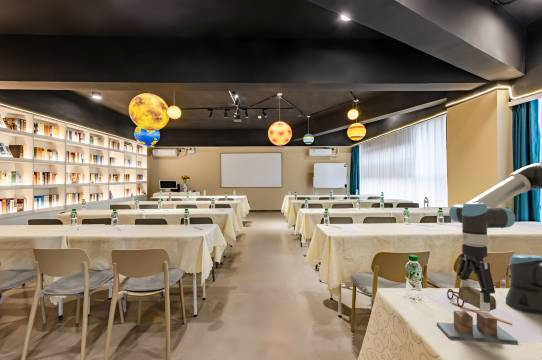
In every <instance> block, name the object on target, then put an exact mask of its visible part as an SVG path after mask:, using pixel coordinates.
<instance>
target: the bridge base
mask: <svg viewBox="0 0 542 360" xmlns="http://www.w3.org/2000/svg"><path fill="white" fill-rule="evenodd" d="M436 326H437V327H438V328H439V329H440V330H441V331H442V332H443V333H444V334H445V335H446V337H447V338H448V339H449V340H462V341H463V340H464V341H478V342H490V343H506V344H519V341H518V339H516V338H515V337H514V336H512V335H511V334H509V333H508V332H507V331H506V330H504V329H503V328H501V326H498V318H497V317H495V316H494V315H492V314H491V313H489V312H484V311H476V324H474V317H473V316H472V315H470V313H468V312H467V311H466V310H453V323H452V322H450V323H449V322H436Z"/></svg>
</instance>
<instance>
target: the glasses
mask: <svg viewBox="0 0 542 360" xmlns="http://www.w3.org/2000/svg"><path fill="white" fill-rule="evenodd" d="M449 293H451V297H450V295H449ZM458 293H459V291H458V292H457V291H454V290H453V289H451V288H449V289H447V293H446V297H447V299H449V300H453V299H454V297H456V304H457V306H458V305H459V306H460V308H463V306H464V305H465V304H468V303H467V302H465V301H463V300H462V304H461V305H460V302H459V300H460V298H459V297H458ZM459 306H458V307H459Z"/></svg>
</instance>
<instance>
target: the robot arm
mask: <svg viewBox="0 0 542 360" xmlns="http://www.w3.org/2000/svg"><path fill="white" fill-rule="evenodd" d="M532 190H542V162H535V163H532V164H529V165H526V166H523V167H521V168H519V169H516V170H515V171H514V172H511V173H509V174H508V175H507V176H506V178H505V179H504V180H503V181H500V182H499V183H498V184H496V185H494V186H493V187H491V188H490V189H487V190H486V191H484V192H483V193H482V192H481V194H479V195H477V196H476V197H474V198H472V199H470V200H469V201H467V202H464V203H463V204H460V203H459V204H453V205H452V206H451V207H450V209H449V210H448V211H449V212H448V214H449V215H448V216H449V217H450V219H451V220H452V222H453V221H454V222H457V223H460V224H461V227H462V231H461V232H462V235H461V239H462V245H461V251H462V252H461V254H460V262H459V266H458V269H457V273H456V274H457V276H458V277H459V279H460V287H470V276H471V274H472V272H473V273H474V274H475V276H476V278H477V280H478V284H479V286H480V289H481V290H480V309H479V310H480V311H479V312H488V313H489V312H491V310H490V295H491V294H496V289H495V286H494V281H493V275H492V273H491V264H490V263H489V262H485V261H484V258H487V257H488V247H487V245H488V229H499V228H500V229H504V228H506V229H507V228H509V227H512V226H514V224H515V222H516V215H515V213H514V212H513V210H511V209H510V208H508V207H507V208H506V207H499V206H501V205H503V204H504V203H505V202H508V201H509V200H511V199H512V198H514V197H516V196H517V195H519V194H524V193H525V194H526V193H527V192H529V191H532ZM509 269H510V270H509V271H510V273H509V274H510V275H509V276H510V277H509V278H510V281H509V282H510V283H509V284H510V287H509V288H508V289H509V290H508V291H507V293H506V296H505V304H506V305H507V306H509V307H511V308H513V309H515V310H518V311H522V312H526V313H529V314H536V315H542V255H534V254H513V255H512V256H511V257H510V262H509Z"/></svg>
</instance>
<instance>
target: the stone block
mask: <svg viewBox="0 0 542 360" xmlns="http://www.w3.org/2000/svg"><path fill="white" fill-rule="evenodd" d="M480 291H481V290H479V289H477V288H474V287H472V286H469V287H461V286H459V288H458V294H457V296H458V297H459V300H461V301H462V302H463V301H465V302H467V303H466V304H468V305H471V306H473V307H476V308H477V309H479V310H480ZM465 302H464V303H465ZM496 309H497V301H496V298H495V297H494V296H493V295H491V294H490V311H493V310H494V311H495V310H496Z"/></svg>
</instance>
